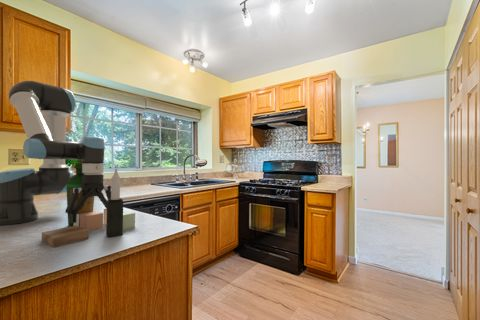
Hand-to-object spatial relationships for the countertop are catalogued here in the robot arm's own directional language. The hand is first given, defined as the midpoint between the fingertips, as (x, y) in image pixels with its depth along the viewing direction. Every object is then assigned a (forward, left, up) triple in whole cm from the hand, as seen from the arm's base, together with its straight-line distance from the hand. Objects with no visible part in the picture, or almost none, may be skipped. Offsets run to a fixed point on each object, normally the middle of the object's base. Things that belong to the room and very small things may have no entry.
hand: (91, 227), depth 92 cm
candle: (+16, +1, 0) cm, 16 cm away
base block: (+8, -12, 0) cm, 14 cm away
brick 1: (0, 0, 0) cm, 0 cm away
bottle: (-9, -1, 0) cm, 9 cm away
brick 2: (+10, +8, 0) cm, 13 cm away
